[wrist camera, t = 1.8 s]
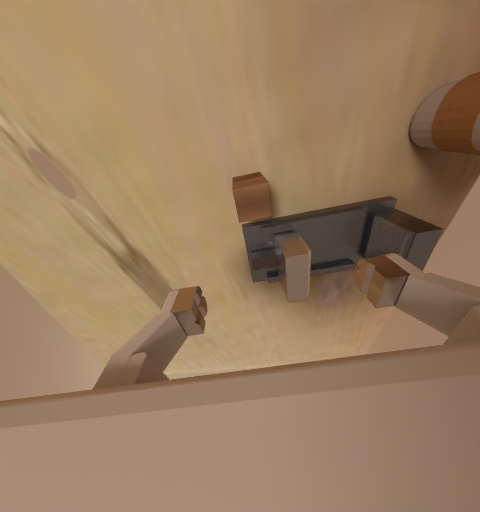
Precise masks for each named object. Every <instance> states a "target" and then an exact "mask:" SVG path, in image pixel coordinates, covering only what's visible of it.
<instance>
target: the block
mask: <svg viewBox="0 0 480 512" xmlns="http://www.w3.org/2000/svg"><path fill="white" fill-rule="evenodd" d="M233 194H234V199H235V204H236V209H237V214H238V219H239V223H240V222H246V221H251V220H256V219H261V218H266V217H272V216H271V206H270V195H269V185H268V181H267V180H266V179H265V178H264V177H263V175H262V174H261V173H260V172H257V173H252V174H248V175H243V176H238V177H233Z"/></svg>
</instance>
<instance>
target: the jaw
mask: <svg viewBox="0 0 480 512" xmlns="http://www.w3.org/2000/svg"><path fill="white" fill-rule="evenodd" d="M274 236H275V247H276V248H275V249H270V250H264V251H259V252H253V253H250V256H251V262H252V267H253V270H259V269H265V268H271V267H277V269H278V275H279V278H280V281H281V284H282V287H283V289H284V292H285V295H286V298H287V301H288V302H294V301H301V300H307V295H309V291H310V265H311V250H310V248H309V247H308V246H307V244H306V243H305V241H304V240H303V239H302V237H301V236H300V234H299V233H298V231H293V230H288V231H282V232H277V233H274Z"/></svg>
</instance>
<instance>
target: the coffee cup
mask: <svg viewBox="0 0 480 512" xmlns="http://www.w3.org/2000/svg"><path fill="white" fill-rule="evenodd" d="M410 136H411V139H412V140H413V141H414V143H415V144H417V145H418V146H421V147H427V148H435V149H441V150H445V151H453V152H461V153H469V154H476V155H480V72H479V73H476V74H473V75H471V76H468V77H466V78H464V79H461V80H458V81H455V82H452V83H449V84H447V85H444V86H442V87H441V88H439V89H437V90H436V91H435V92H433V93H432V94H431V95H430V96H428V97H427V98H426V99H425V100H424V101H423V102H422V104H421V105H420V106H419V107H418V109H417V110H416V112H415V114H414V116H413V118H412V121H411V124H410Z"/></svg>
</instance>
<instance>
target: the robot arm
mask: <svg viewBox="0 0 480 512" xmlns="http://www.w3.org/2000/svg"><path fill="white" fill-rule="evenodd" d="M357 267H358V268H359V270H358V271H357V272H356V273H355V282H356V285H357V287H358V288H359V289H360V290H361V291H362V292H364V293H367V299H368V300H369V301H370V302H371V303H372V304H373V306H374V307H375V308H382V307H390V306H395V307H397V308H398V309H400V310H402V311H404V312H406V313H407V314H409V315H411V316H413V317H415V318H416V319H419V320H420V321H422V322H424V323H425V324H427V325H429V326H431V327H433V328H435V329H436V330H438V331H440V332H442V333H444V334H445V335H447V336H449V337H448V339H447V340H446V341H445V342H444V344H443V345H438V346H430V347H422V348H414V349H406V350H398V351H391V352H383V353H375V354H367V355H359V356H351V357H343V358H336V359H328V360H320V361H312V362H304V363H297V364H289V365H281V366H273V367H266V368H258V369H250V370H242V371H235V372H227V373H219V374H211V375H204V376H195V377H188V378H180V379H172V380H169V378H167V376H166V375H165V374H164V373H163V371H164V370H165V369H166V367H167V366H168V364H169V363H170V361H171V360H172V359H173V357H174V356H175V354H176V353H177V351H178V350H179V349H180V347H181V346H182V344H183V343H184V342H185V340H186V339H187V336H192V335H197V334H203V333H204V328H205V320H204V317H205V316H206V315H207V303H206V299H205V297H203V296H202V295H201V294H202V290H201V288H200V287H199V286H196V287H189V288H182V289H176V290H171V291H170V292H169V294H168V296H167V299H166V301H165V303H164V306H163V308H162V310H161V313H160V315H157V316H156V317H154V318H153V319H152V320H151V321H150V322H149V323H148V324H147V325H146V326H144V327H143V328H142V329H141V330H140V331H139V332H138V333H137V334H136V335H134V336H133V337H132V338H131V339H130V340H129V341H128V342H127V343H126V344H124V345H123V346H122V347H121V348H120V349H119V350H118V351H117V352H116V353H114V354H113V355H112V356H111V358H110V360H109V362H108V363H107V365H106V367H105V369H104V370H103V372H102V374H101V376H100V377H99V379H98V381H97V383H96V385H95V386H94V388H93V390H85V391H77V392H69V393H61V394H53V395H46V396H38V397H30V398H22V399H13V400H5V401H0V512H480V287H477V286H473V285H470V284H466V283H463V282H459V281H456V280H452V279H449V278H446V277H442V276H439V275H435V274H432V273H424V272H423V271H421V270H420V269H418V268H417V267H415V266H414V265H412V264H411V263H409V262H408V261H407V260H405V259H404V258H402V257H401V256H399V255H398V254H395V253H390V254H385V255H381V256H375V257H369V258H363V259H360V260H359V261H358V263H357Z"/></svg>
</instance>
